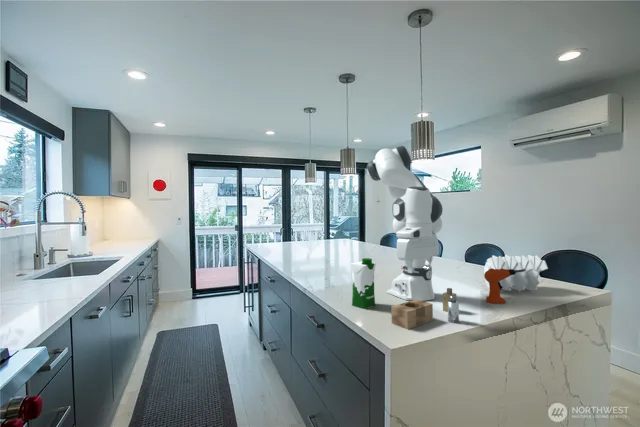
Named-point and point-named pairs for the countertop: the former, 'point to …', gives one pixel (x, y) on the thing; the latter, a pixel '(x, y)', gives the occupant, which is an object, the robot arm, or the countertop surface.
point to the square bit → (447, 298)
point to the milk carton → (363, 283)
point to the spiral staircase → (521, 278)
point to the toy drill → (497, 283)
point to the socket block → (412, 313)
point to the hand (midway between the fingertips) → (419, 270)
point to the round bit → (453, 310)
